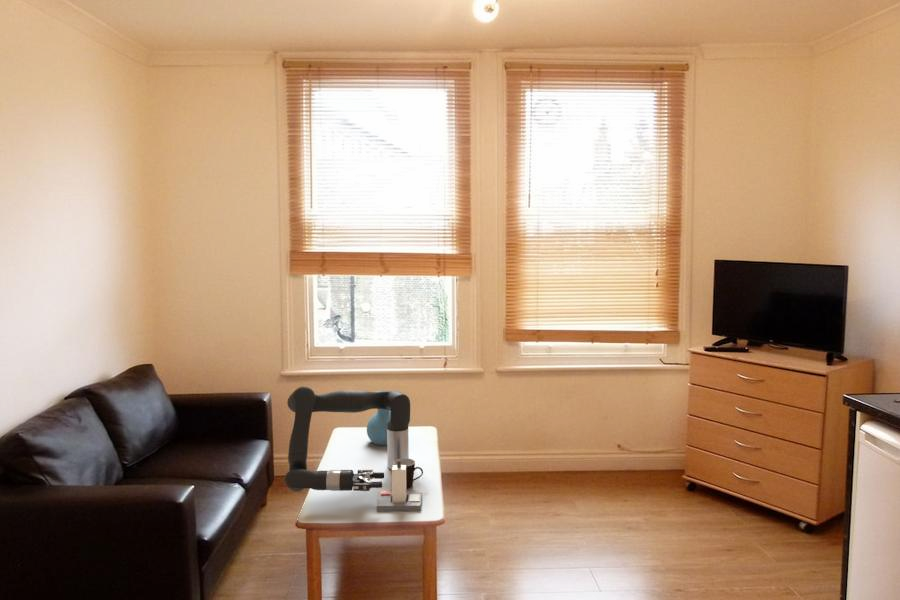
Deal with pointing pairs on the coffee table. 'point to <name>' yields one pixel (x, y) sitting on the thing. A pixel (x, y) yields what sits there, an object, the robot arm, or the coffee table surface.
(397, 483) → the plug
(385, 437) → the vase
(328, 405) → the robot arm
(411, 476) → the coffee mug
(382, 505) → the socket
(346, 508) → the coffee table surface
